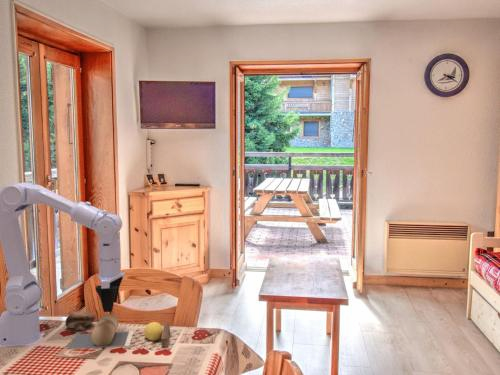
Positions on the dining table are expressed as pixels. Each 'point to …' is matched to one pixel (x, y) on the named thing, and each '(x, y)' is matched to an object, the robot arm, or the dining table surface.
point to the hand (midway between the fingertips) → (110, 306)
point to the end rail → (165, 335)
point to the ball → (153, 331)
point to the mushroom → (79, 320)
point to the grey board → (87, 342)
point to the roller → (104, 330)
